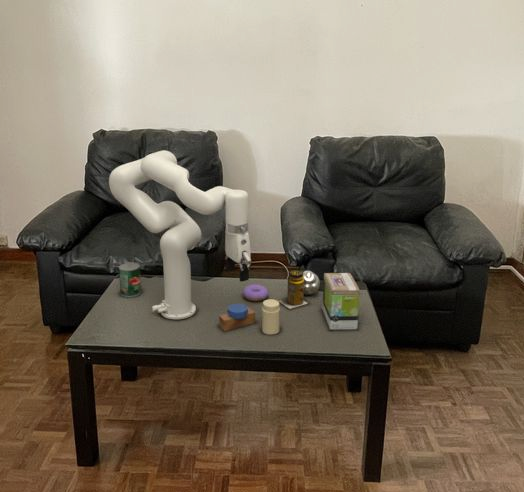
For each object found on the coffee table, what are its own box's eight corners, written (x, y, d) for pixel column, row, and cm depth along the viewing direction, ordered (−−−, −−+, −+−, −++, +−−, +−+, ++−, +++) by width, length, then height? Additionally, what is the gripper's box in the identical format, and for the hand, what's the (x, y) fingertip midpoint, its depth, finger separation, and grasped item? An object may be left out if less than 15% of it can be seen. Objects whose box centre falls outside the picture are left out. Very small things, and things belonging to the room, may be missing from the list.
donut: (237, 296, 210) (238, 284, 210) (253, 293, 217) (254, 281, 217) (256, 304, 203) (258, 292, 203) (272, 301, 210) (274, 289, 210)
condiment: (308, 303, 206) (309, 273, 203) (289, 309, 201) (290, 278, 198) (296, 296, 212) (297, 267, 209) (278, 301, 207) (278, 272, 204)
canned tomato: (139, 297, 210) (137, 270, 208) (118, 297, 210) (116, 270, 207) (142, 288, 218) (141, 262, 215) (122, 288, 218) (121, 262, 215)
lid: (246, 308, 193) (245, 302, 192) (249, 317, 186) (249, 311, 186) (226, 310, 192) (226, 304, 191) (229, 319, 185) (229, 313, 185)
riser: (224, 331, 185) (224, 320, 184) (219, 326, 189) (219, 315, 188) (255, 322, 191) (255, 312, 190) (249, 317, 195) (249, 307, 194)
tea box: (358, 329, 187) (360, 289, 184) (329, 330, 186) (330, 290, 183) (348, 309, 202) (350, 271, 198) (321, 309, 201) (322, 272, 197)
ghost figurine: (292, 296, 211) (292, 272, 209) (302, 287, 219) (303, 263, 217) (313, 301, 207) (314, 277, 205) (323, 292, 215) (324, 268, 213)
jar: (267, 336, 182) (268, 308, 180) (258, 328, 187) (258, 301, 185) (282, 331, 185) (283, 304, 183) (273, 323, 190) (273, 297, 188)
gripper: (259, 232, 177) (259, 282, 180) (234, 218, 191) (234, 264, 195) (239, 236, 173) (239, 287, 177) (215, 221, 187) (215, 268, 191)
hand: (237, 275), depth 186 cm, fingers open, 9 cm apart
